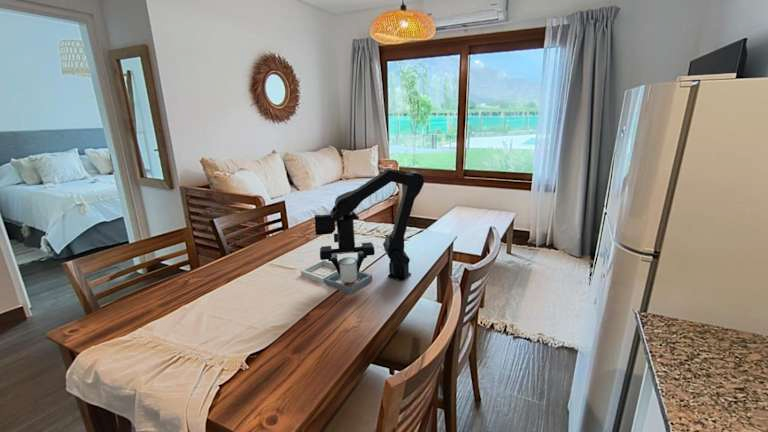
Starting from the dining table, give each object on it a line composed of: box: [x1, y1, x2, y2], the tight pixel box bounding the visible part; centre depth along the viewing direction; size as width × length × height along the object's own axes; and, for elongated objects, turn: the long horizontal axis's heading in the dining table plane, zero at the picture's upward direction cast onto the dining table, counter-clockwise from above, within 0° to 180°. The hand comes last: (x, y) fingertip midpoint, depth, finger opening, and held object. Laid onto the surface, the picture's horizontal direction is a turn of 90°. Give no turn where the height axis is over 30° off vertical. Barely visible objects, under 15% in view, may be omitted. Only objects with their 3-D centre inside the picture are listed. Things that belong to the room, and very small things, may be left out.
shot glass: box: [338, 256, 358, 283], centre depth 124 cm, size 7×7×7 cm
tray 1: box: [300, 259, 338, 285], centre depth 132 cm, size 12×12×2 cm
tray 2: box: [324, 270, 373, 295], centre depth 125 cm, size 12×12×2 cm
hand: (348, 272), depth 124 cm, fingers closed on shot glass, 6 cm apart
